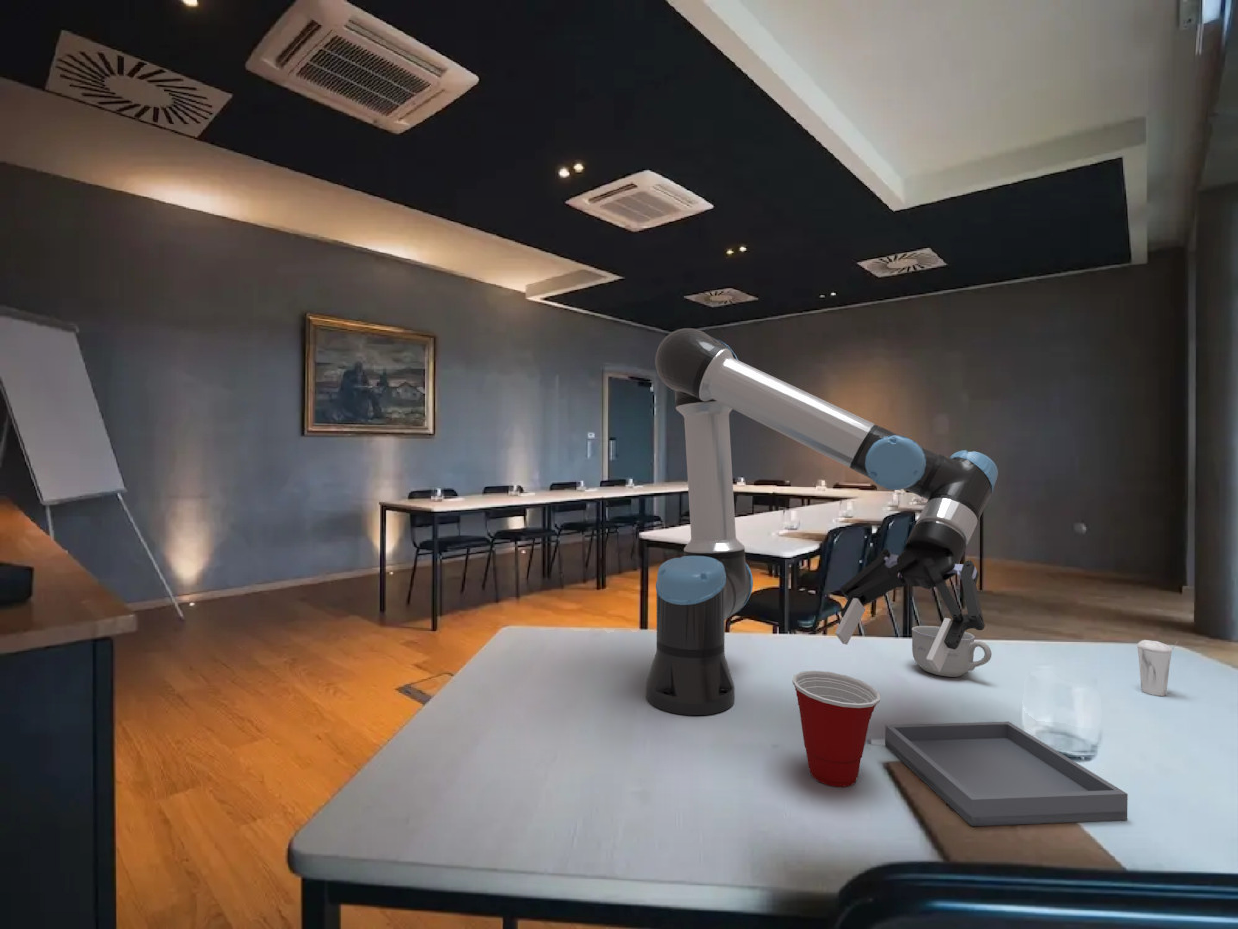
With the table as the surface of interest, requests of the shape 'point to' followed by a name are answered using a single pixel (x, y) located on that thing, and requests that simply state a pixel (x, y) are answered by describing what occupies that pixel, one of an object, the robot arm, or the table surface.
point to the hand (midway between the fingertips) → (883, 651)
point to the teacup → (956, 659)
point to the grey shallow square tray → (1003, 775)
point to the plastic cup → (834, 723)
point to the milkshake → (1154, 666)
